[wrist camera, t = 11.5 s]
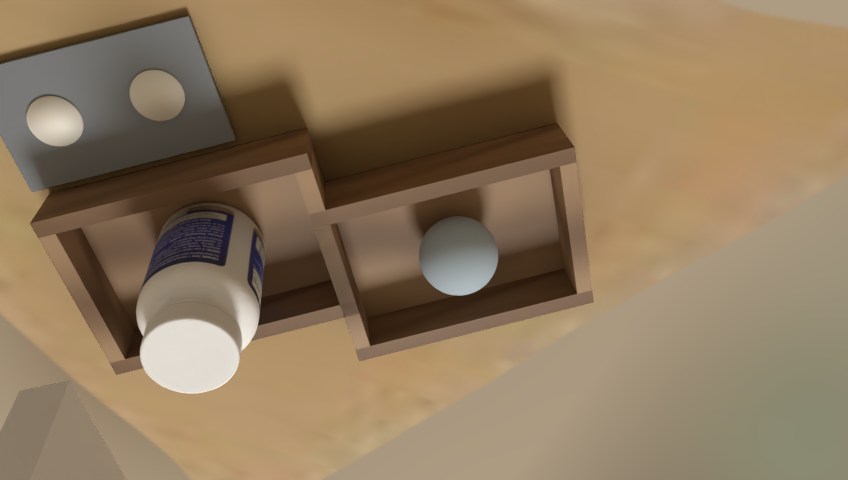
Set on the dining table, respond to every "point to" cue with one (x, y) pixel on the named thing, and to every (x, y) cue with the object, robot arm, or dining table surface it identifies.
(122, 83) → the card
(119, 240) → the cradle
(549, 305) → the cradle
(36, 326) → the dining table surface
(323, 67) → the dining table surface
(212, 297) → the pill bottle
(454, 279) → the ball
